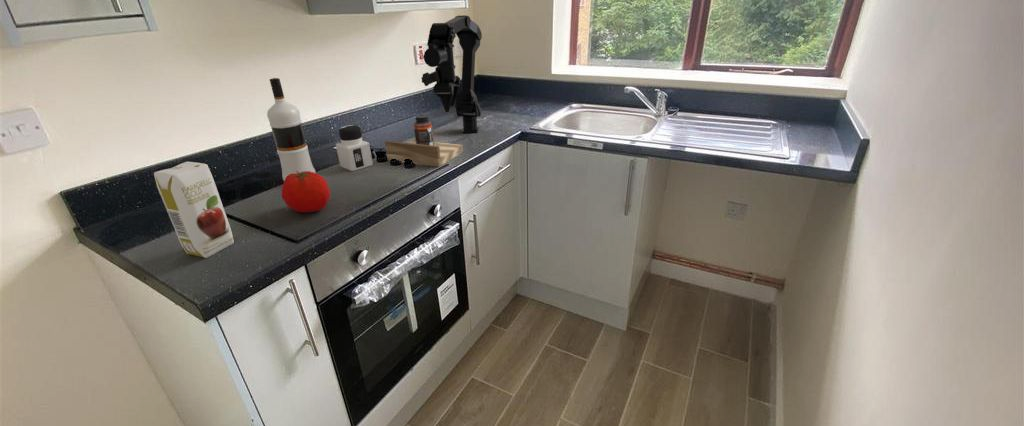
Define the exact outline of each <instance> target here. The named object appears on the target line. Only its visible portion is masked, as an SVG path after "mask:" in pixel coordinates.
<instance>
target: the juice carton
mask: <svg viewBox="0 0 1024 426" xmlns="http://www.w3.org/2000/svg"><path fill="white" fill-rule="evenodd" d="M153 176H154V180H155V183H156V188H157V190H158V193H159V195H160V197H161V200H162V203H163V205H164V207H165V211H166V212H167V214H168V217H169V220H170V221H171V222H170V223H171V224H172V226H173V229H174V230H175V233H176V236H177V238H178V241H179V243H180V245H181V247H182V248H183V250H184V251H185V252H186V254H187V255H190V256H191V255H192V256H195V257H200V258H205V259H206V258H210V257H212V256H213V255H215V254H217V253H218V252H220V251H222V250H224V249H226V248H228V247H230V246H231V245H233V244H234V243H235V242H234V236H233V232H232V229H231V225H230V223H229V222H230V221H229V220H228V216H227V214H226V211H225V208H224V206H223V203H222V200H221V197H220V194H219V191H218V188H217V185H216V182H215V180H214V177H213V175H212V172H211V169H210V168H209V166H208V164H206V163H202V162H194V161H184V162H182V163H179V164H177V165H175V166H173V167H170V168H165V169H161V170H158V171H154V172H153Z"/></svg>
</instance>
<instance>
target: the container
mask: <svg viewBox="0 0 1024 426" xmlns="http://www.w3.org/2000/svg"><path fill="white" fill-rule="evenodd" d="M338 134H339V138H340V139H339V140H340V142H338V143H335V146H336V147H335V148H336V152H337V153H336V154H337V156H338V161H339V167H341V168H344V169H346V170H348V171H350V172H355V171H358V170H361V169H364V168H368V167H371V166H373V164H374V163H373V157H372V152H371V147H370V143H369V142H367V141H365V140H363V136H362V135H363V134H362V130H361V127H360V126H358V125H354V124H352V125H351V124H350V125H345V126H342V127H340V128H339V129H338Z"/></svg>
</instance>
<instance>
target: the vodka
mask: <svg viewBox="0 0 1024 426" xmlns="http://www.w3.org/2000/svg"><path fill="white" fill-rule="evenodd" d="M269 82H270V83H269V84H270V87H271V90H272V94H273V99H274V104H272V106H270V108H269V109H268V110H267V112H266V115H267V119H268V121H269V126H270V128H271V131H272V135H273V140H274V143H275V146H276V149H277V150H276V152H277V154H278V157H279V161H280V166H281V173H282V174H281V175H282V176H281V177H282V180H283V182H284V181H285V179H286V177H287V176H288V175H290V174H293V173H297V172H299V173H301V172H304V171H310V172H314V173H316V174H317V171H316V169H315V167H314V165H313V163H312V160H311V156H310V152H309V146H308V145H307V141H306V137H305V133H304V129H303V124H302V119H301V114H300V110H299V109H298V107H297V106H295V105H293V104H291V103H289V102H286V98H285V95H284V91H283V87H282V84H281V79H280V78H278V77H272V78H270V79H269ZM296 171H297V172H296Z"/></svg>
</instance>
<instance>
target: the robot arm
mask: <svg viewBox="0 0 1024 426" xmlns="http://www.w3.org/2000/svg"><path fill="white" fill-rule="evenodd" d="M456 37H457V38H458V43H459V45H460V47H461V49H462V65H461V66H462V68H461V77H459V75H456V71H455V69H456V65H455V63H454V62H455V61H454V49H453V48H454V47H455V45H454V40H455V39H456ZM482 38H483V36H482V30H481V28H480V27H479V25H478V24H477V23H476V22H475V21H473V20H472V19H471V17H470V15H456V16H454V17H453V18H451V19H449V20H447V21H445V22H433V23H432V24H431V27H430V30H429V34H428V39H427V43H426V46H427V47H428V48H427V49H426V50H425V51H424V54H423V60H424V62H425V64H426V65H427V66H428V67H431V68H435V71H432V72H430V73H429V72H428V71H427V72H424V73H422V77H421V83H423V85H424V86H425V87H428V86H429V85H431V84H433V83H435V84H434V86H433V87H432V90H433V94H435V95H436V96H438V97H439V98H440V100H441V103H442V105H443V108H444V111H445V113H450V109H451V107H455V112H456V116H457V117H461V119H462V130H461V133H462V134H463V133H464V134H466V133H467V134H469V133H473V134H474V133H475V134H476V133H478V132H479V130H480V127H478V119H477V118H479V117H481V116H482V108H481V106H480V104H479V102H478V97H477V94H476V93H475V91H474V90H475V70H476V69H475V67H476V66H475V65H476V53H477V50H478V49H479V47H480V46H481V40H482ZM460 86H461V88H460ZM459 88H460V91H459Z"/></svg>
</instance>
